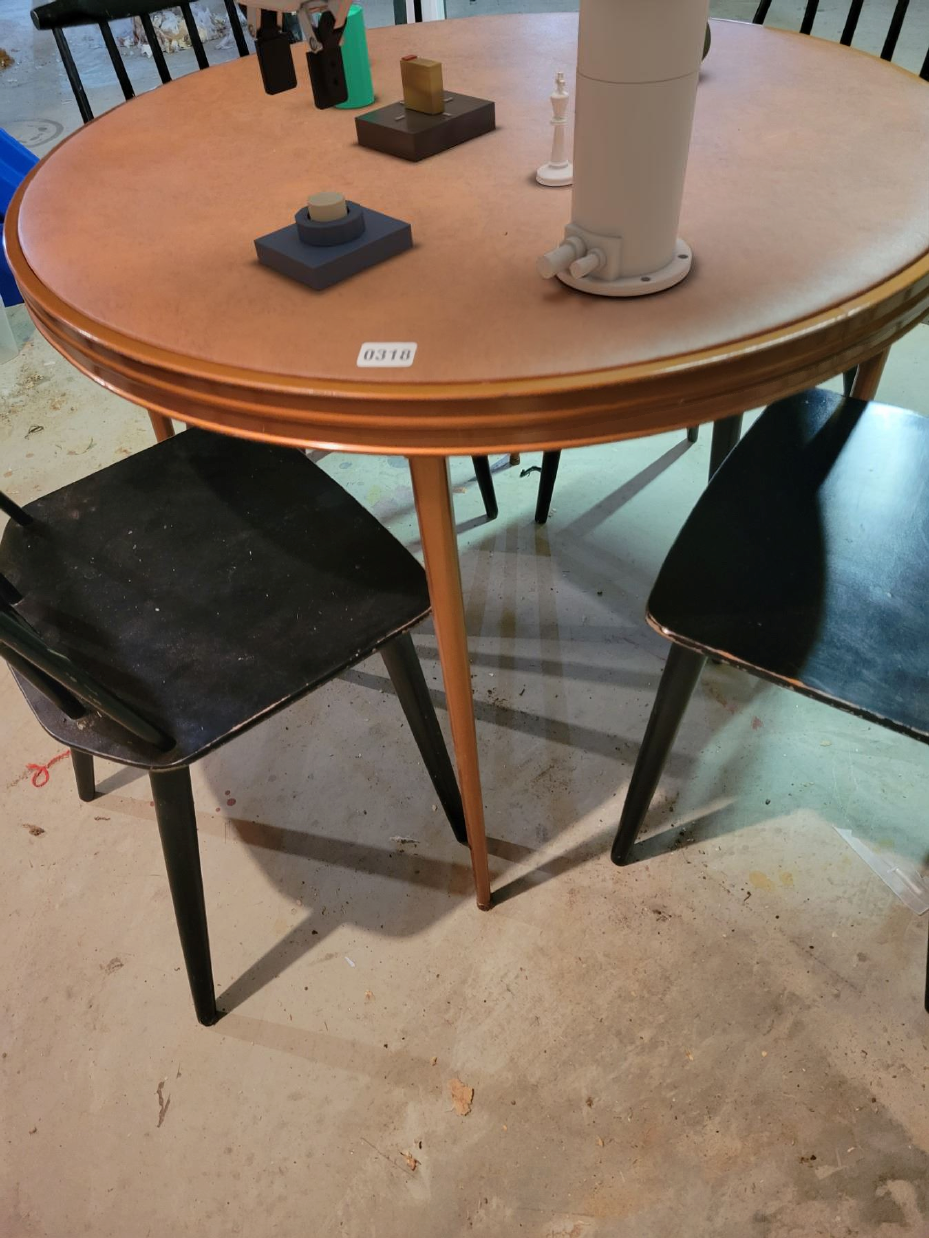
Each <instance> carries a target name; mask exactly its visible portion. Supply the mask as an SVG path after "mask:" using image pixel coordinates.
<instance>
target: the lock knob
mask: <svg viewBox="0 0 929 1238" xmlns="http://www.w3.org/2000/svg"><path fill="white" fill-rule="evenodd" d="M399 66H400V67H399V68H400V75H401V85H402V95H403V100H404V105H405V108H409V109H413V110H417V111H420V112H424V113H428V114H432V115H435V114H437V113H440V112H442V111H445V105H444V91H443V90H444V81H443V79H444V78H443V65H442V62H441V61H436V60H432V59H426V58H422V57H418V55H416V54H411V53H410V54H408V55H405V56H402V57H401V59H400V60H399Z"/></svg>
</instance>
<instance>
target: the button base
mask: <svg viewBox="0 0 929 1238" xmlns="http://www.w3.org/2000/svg"><path fill="white" fill-rule="evenodd" d="M345 203H346V208H347V214H348V215H347V216H346V217H344V218H341V219H339V220H336V221H330V222H314V221H312V220H311V219H310V214H309V209H308V205H306V206H303V207H301V208H300V209H299V210H298V211H297V212H296V213H295V214H294V216H293V217H294V221H295V222H293V223H292V224H288V225H287V226H284V227H282V228H280V229H277V230H275V231H272V232H270V233H267V234H265V235H263V236H260V237H258V238H255V239H253V244H254V248H255V252H256V255H257V259H258V263H259V264H261V265H263V266H266V267H268V268H270V269H272V270H275V271H276V272H279V273H281V274H282V275H284V276H286V277H288V278H291V279H292V280H295V281H297V282H299V283H301V284H303V285H305V286H307V287H309V288H311V289H313V290H315V291H317V292H320V291H322V290H324V289H326V288H329V287H331V286H333V285H335V284H337V283H339V282H342V281H343V280H346V279H348V278H350V277H352V276H354V275H356V274H358V273H360V272H362V271H364V270H366V269H368V268H371V267H372V266H375V265H378V264H379V263H382V262H384V261H386V260H387V259H390V258H392V257H394V256H396V255H398V254H400V253H403V252H405V251H406V250H409V249H410V248H413V247H414V242H413V232H412V225H411V223H409V222H406V221H404V220H400V219H397V218H396V217H393V216H391V215H387V214H385V213H382V212H379V211H377V210H374V209H371V208H369V207H366V206H363V205H361V204H360V203H358V202H355V201H352V200H350V199H345Z"/></svg>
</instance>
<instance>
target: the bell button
mask: <svg viewBox="0 0 929 1238" xmlns="http://www.w3.org/2000/svg"><path fill="white" fill-rule="evenodd" d="M345 197H346V196H345V194H344V193H343V192H341V191H337V190H324V191H319V192H315V193H313V194H311V195H310V196H308V197H307V199H306V204H307V206H308V209H309V214H310V219H311V220H312V221H314V222H330V221H336V220H339V219H341V218H344V217H346V216H347V215H348V214H347V208H346V203H345V200H346V198H345Z"/></svg>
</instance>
